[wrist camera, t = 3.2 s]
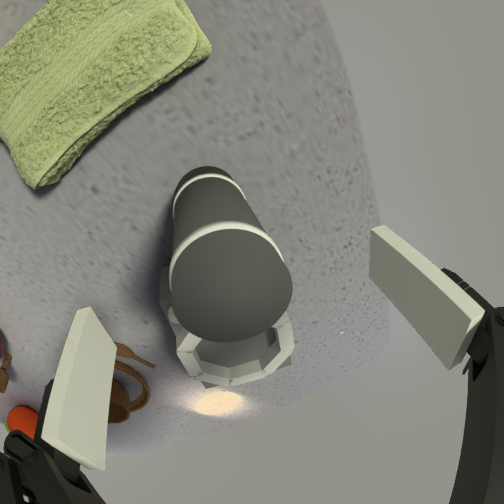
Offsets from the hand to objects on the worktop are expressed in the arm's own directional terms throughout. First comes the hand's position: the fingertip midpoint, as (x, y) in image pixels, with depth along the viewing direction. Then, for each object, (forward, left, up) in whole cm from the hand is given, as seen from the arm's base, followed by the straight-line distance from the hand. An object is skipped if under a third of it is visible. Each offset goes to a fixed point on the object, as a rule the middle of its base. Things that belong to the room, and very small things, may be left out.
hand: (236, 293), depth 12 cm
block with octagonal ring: (-1, -11, -12) cm, 16 cm away
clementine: (-40, -23, -13) cm, 48 cm away
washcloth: (-7, +14, -13) cm, 21 cm away
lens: (0, 0, -12) cm, 12 cm away
